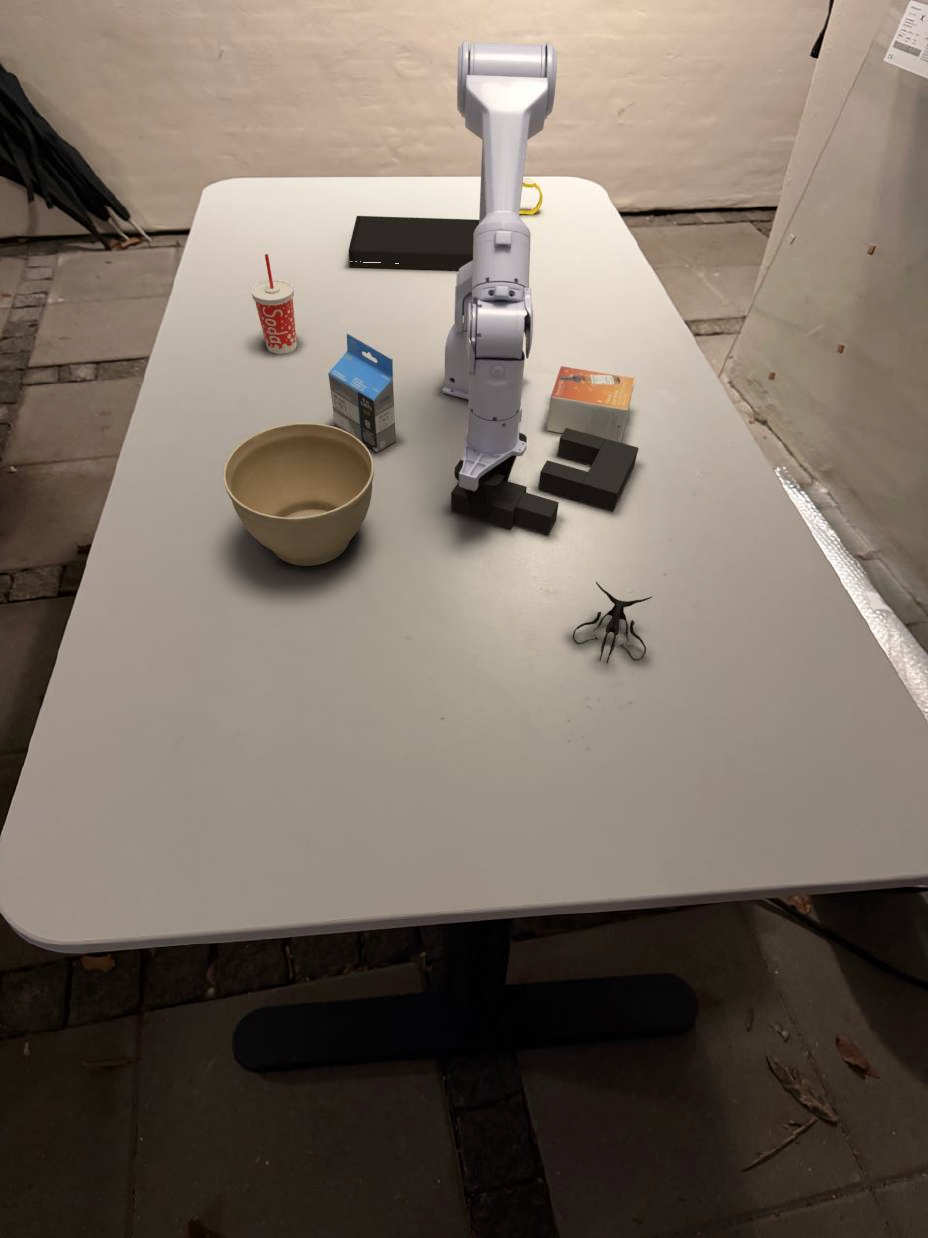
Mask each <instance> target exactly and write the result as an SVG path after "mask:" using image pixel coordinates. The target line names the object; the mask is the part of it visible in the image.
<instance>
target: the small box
mask: <svg viewBox="0 0 928 1238" xmlns="http://www.w3.org/2000/svg"><path fill="white" fill-rule="evenodd" d="M635 381H636V379H635V378H634V377H629V376H622V375H617V374H610V373H604V372H600V371H599V372H598V371H593V370H588V369H581V368H576V367H575V368H574V367H570V366H569V367H568V366H563V365H560V367H559V370H558V373H557V376H556V379H555V382H554V386H553V388H552V391H551V395H550V399H549V405H548V406H549V407H548V414H547V415H548V416H547V423H546V431H549V432H555V433H560V434H563V432H564V430H565V428H569V429H572V430H576V431H580V432H583V433H587V434H591V435H594V436H598V437H602V438H605V439H609V440H613V441H616V442H620V443H622V441H623V436H624V432H625V427H626V423H627V418H628V414H629V409H630V404H631V400H632V396H633V392H634V387H635V383H636V382H635Z"/></svg>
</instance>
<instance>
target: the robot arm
mask: <svg viewBox="0 0 928 1238" xmlns="http://www.w3.org/2000/svg"><path fill="white" fill-rule="evenodd" d="M557 70H558V53H557V50H556V48H555V47H554V44H553V43H550V42H546V43H545V44H531V43H530V44H529V43H522V44H521V43H498V42H470V43H469V40H463V41H462V43H461V44H460V45H459V46H458V48H457V80H456V81H457V86H456V89H457V90H456V92H457V93H456V101H457V102H456V110H457V111H458V113H459V114H460V116H461V118H463V119H464V127H465V128H466V130H468V131H470V132H471V133H472V134H474V135H475V136H476V137H478V138H479V139H480V140H481V160H480V162H481V163H480V164H481V165H480V186H479V187H480V188H479V189H480V190H479V213H478V214H479V217H478V218H479V219H478V220H479V225H478V226H477V227H476V229H475V231H474V238H473V260H472V261H471V262H469V263H467V264H466V265H464V266H462V267H461V268H460V269H459V270H458V272H457V273H456V282H455V283H456V284H455V287H454V289H455V290H454V324H452V326H451V327H450V329H449V332H448V334H447V337H446V341H445V347H444V386H443V388H442V393H443V394H447V395H449V396H453V397H457V398H461V399H465V400H468V407H467V408H468V409H467V433H466V435H465V441H464V452H463V459H460V460H459V461H458V463H457V464H456V465H455V466H454V478H455V479H456V480H457V482H459V487H462V488H463V489H464V491H465V493H466V496H467V499H468V502H469V506H470V509H471V512H472V513H474V514H477V515H480V516H483V517H487V516H488V514H489V512H490V510H491V506H492V503H493V498H494V494H495V492H496V489H497V487H498V486H499V485H500V483H501V482H502V480H506V481H509V479H510V476H511V473H512V470H513V467H514V464H515V462H516V459H517V457H519V458H520V457H522V456H523V455H524V454H525V452H526V451H527V446H528V443H527V440H528V439H527V436H526V434H524V433H521V432H520V423H521V422H522V416H523V407H522V406H521V405H522V403H521V402H522V394H523V383H524V382H523V381H524V371H525V360H526V359H529V358H530V357H529V356H530V354H531V350H532V344H533V335H534V309H533V303H532V288H531V287H530V265H531V264H530V263H531V230H530V229H529V227H528V226H527V224H526V223H525V222H524V221H523V219H522V218H521V217H520V214H519V212H520V210H521V200H522V194H523V193H522V192H523V187H522V184H523V179H524V175H525V164H526V156H527V146H528V141H529V140H531V138H533V137H535V136H536V135H537V134H539V133H540V132H543V130H544V127H545V126H544V125H545V121H546V120H547V119H548V117H549V116H550V115H551V114H552V112H553V110H554V104H555V103H554V102H555V95H556V87H557V72H558V71H557ZM524 337H525V351H524V349H523V348H524Z"/></svg>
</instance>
